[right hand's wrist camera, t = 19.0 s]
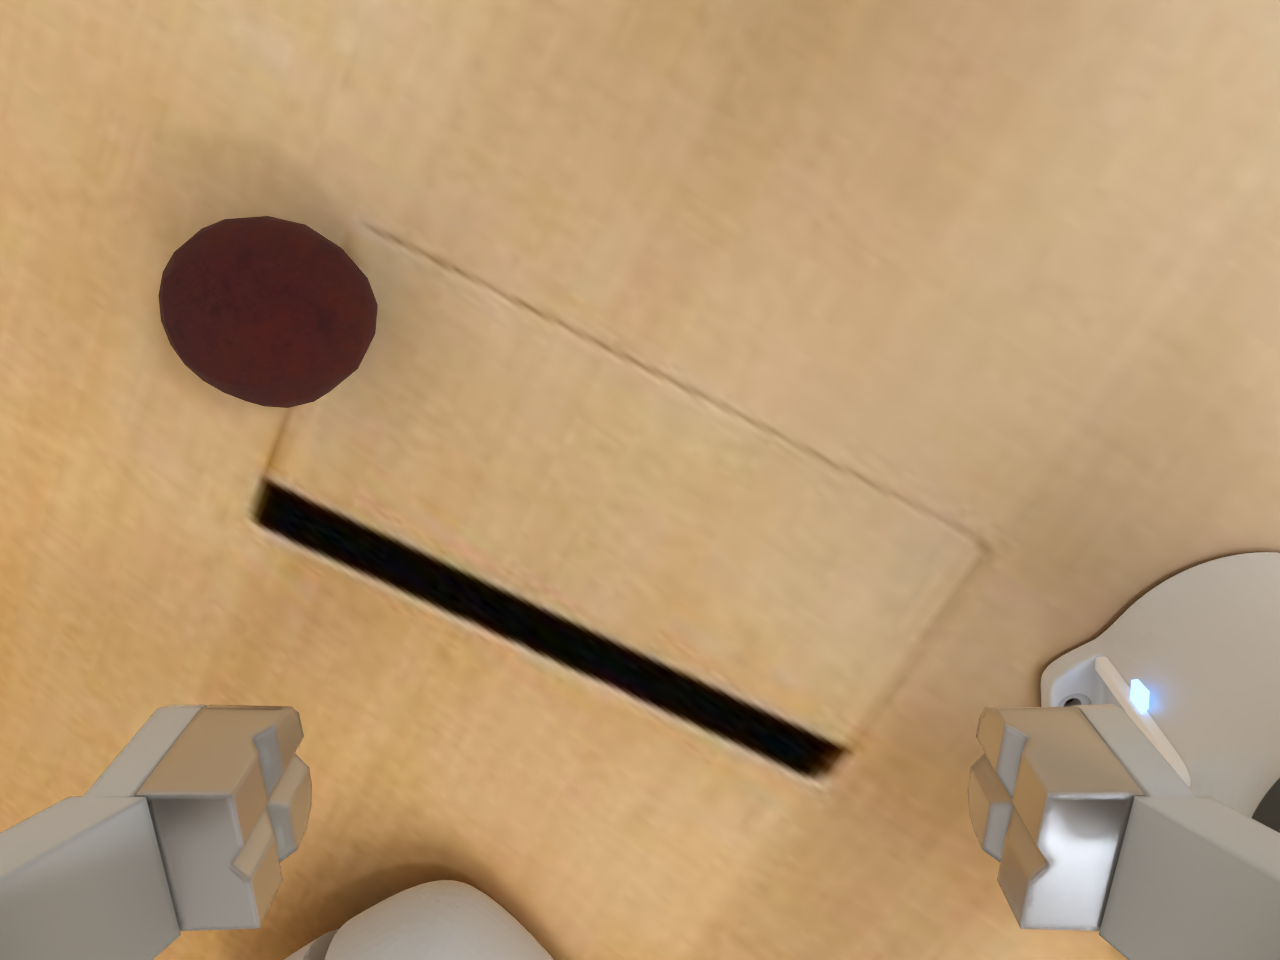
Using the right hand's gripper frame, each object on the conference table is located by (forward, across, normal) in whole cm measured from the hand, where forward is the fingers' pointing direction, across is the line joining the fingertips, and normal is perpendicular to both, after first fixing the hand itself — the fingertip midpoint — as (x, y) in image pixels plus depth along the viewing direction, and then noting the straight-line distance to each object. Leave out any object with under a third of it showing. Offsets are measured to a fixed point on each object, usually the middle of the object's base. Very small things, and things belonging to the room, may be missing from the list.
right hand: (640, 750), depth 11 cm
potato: (+30, +14, 0) cm, 33 cm away
